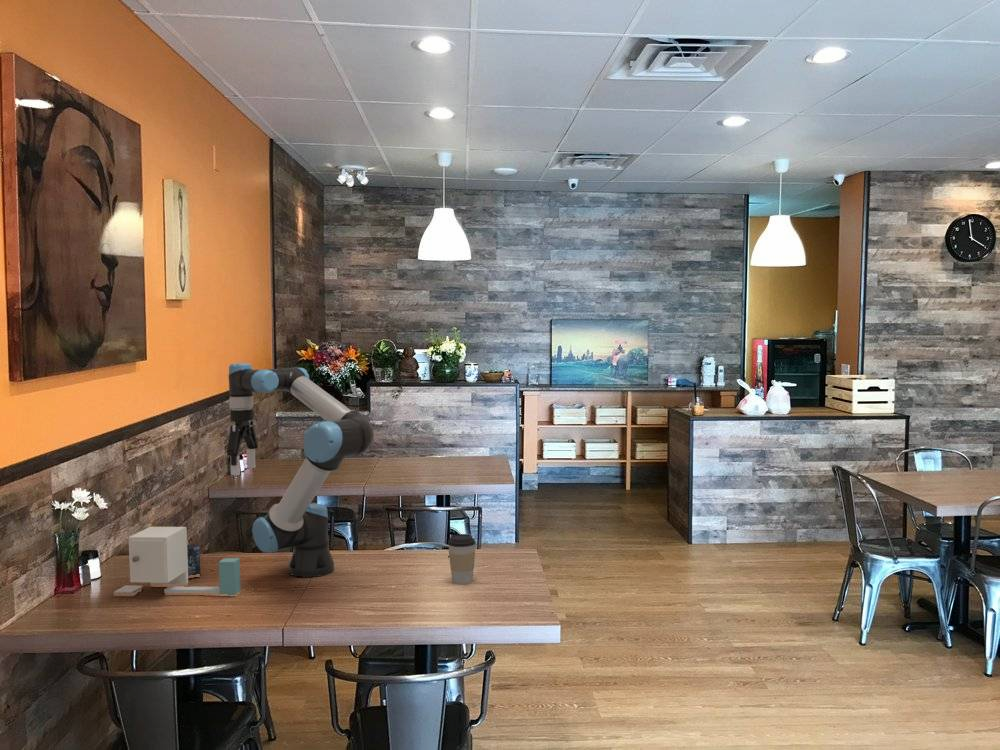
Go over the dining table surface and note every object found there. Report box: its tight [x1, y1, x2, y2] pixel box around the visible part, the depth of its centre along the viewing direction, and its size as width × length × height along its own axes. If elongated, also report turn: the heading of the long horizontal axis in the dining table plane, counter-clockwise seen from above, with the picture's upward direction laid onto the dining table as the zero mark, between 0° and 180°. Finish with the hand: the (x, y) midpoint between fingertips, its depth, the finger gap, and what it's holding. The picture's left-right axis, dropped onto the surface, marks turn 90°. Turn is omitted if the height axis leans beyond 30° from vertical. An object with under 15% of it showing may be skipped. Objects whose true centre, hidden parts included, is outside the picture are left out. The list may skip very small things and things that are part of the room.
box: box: [187, 543, 201, 576], centre depth 261 cm, size 8×6×11 cm
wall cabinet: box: [128, 526, 189, 585], centre depth 245 cm, size 12×14×20 cm
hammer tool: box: [163, 557, 242, 595], centre depth 244 cm, size 23×4×11 cm, turn 86°
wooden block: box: [113, 585, 144, 594], centre depth 246 cm, size 6×6×2 cm
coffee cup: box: [447, 533, 477, 585], centre depth 254 cm, size 9×9×15 cm
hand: (243, 471), depth 265 cm, fingers open, 13 cm apart
